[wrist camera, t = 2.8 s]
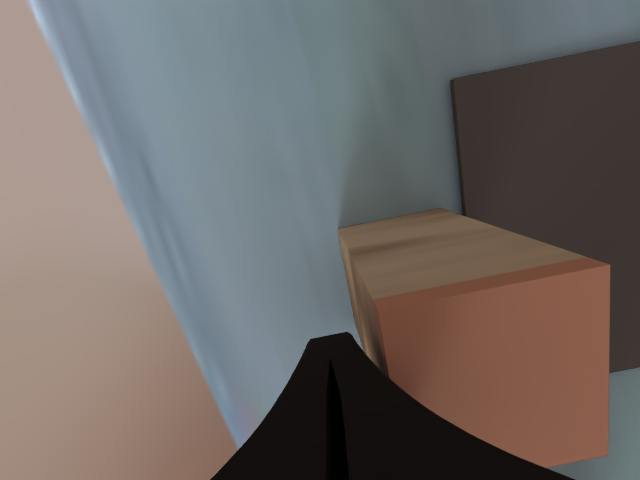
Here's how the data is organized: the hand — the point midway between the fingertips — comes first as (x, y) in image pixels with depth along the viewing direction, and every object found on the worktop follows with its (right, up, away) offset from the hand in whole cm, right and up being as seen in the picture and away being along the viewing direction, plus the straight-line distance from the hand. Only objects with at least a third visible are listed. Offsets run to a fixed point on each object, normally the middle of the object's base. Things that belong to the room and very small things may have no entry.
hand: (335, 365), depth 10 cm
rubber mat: (+12, +4, +7) cm, 14 cm away
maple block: (+3, +2, +7) cm, 8 cm away
